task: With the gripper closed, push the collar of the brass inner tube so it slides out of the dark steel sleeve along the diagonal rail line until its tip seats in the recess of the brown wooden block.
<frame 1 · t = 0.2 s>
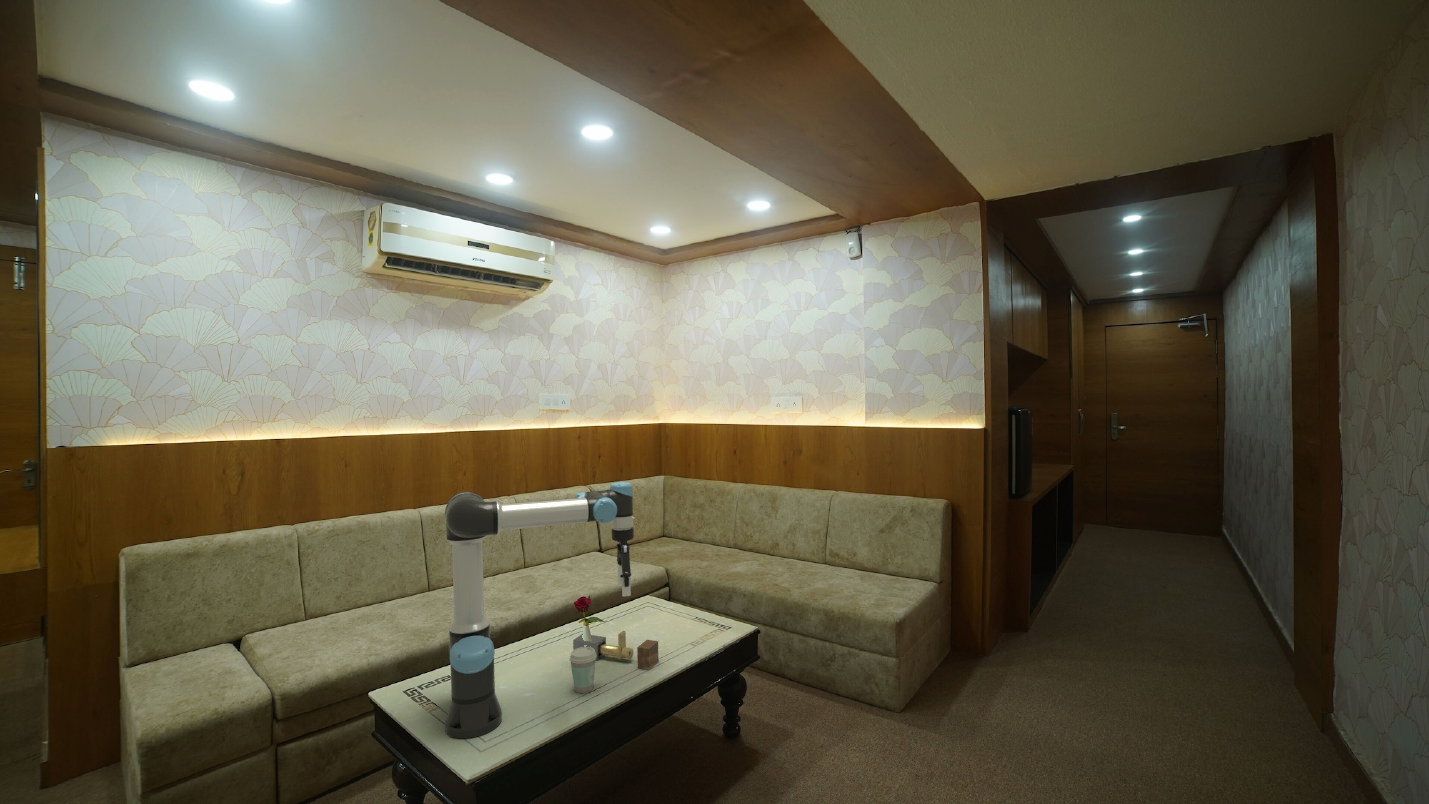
hand: (624, 589, 205), 27 cm above the table, fingers open, 13 cm apart
brown wooden block: (648, 664, 209), on the table
tube: (602, 642, 215), point 6 cm above the table, slide at 0.0 cm
sleeve: (590, 655, 217), on the table
coffee cup: (584, 689, 193), on the table
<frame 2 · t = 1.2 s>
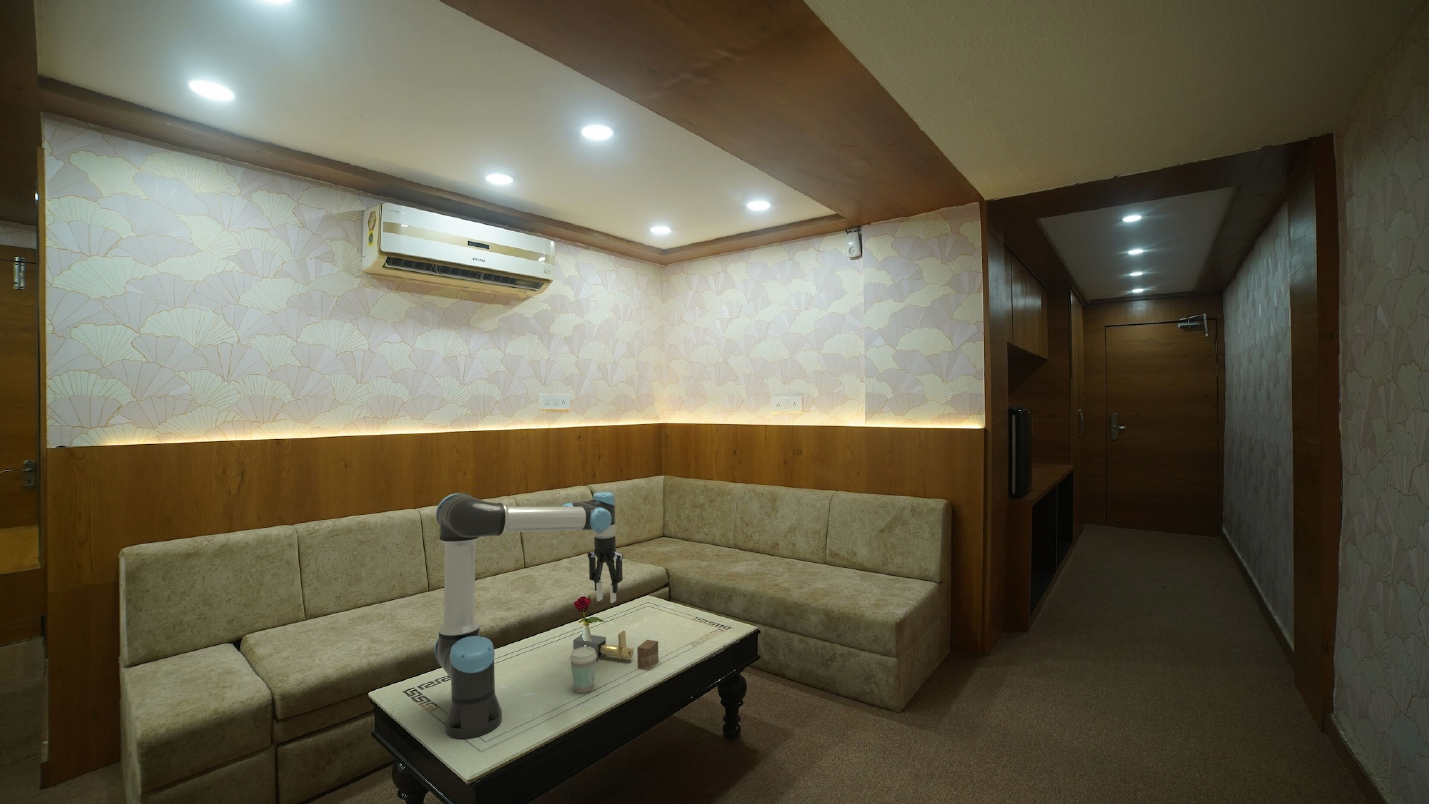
hand: (606, 600, 214), 21 cm above the table, fingers open, 5 cm apart
nothing on the table moved.
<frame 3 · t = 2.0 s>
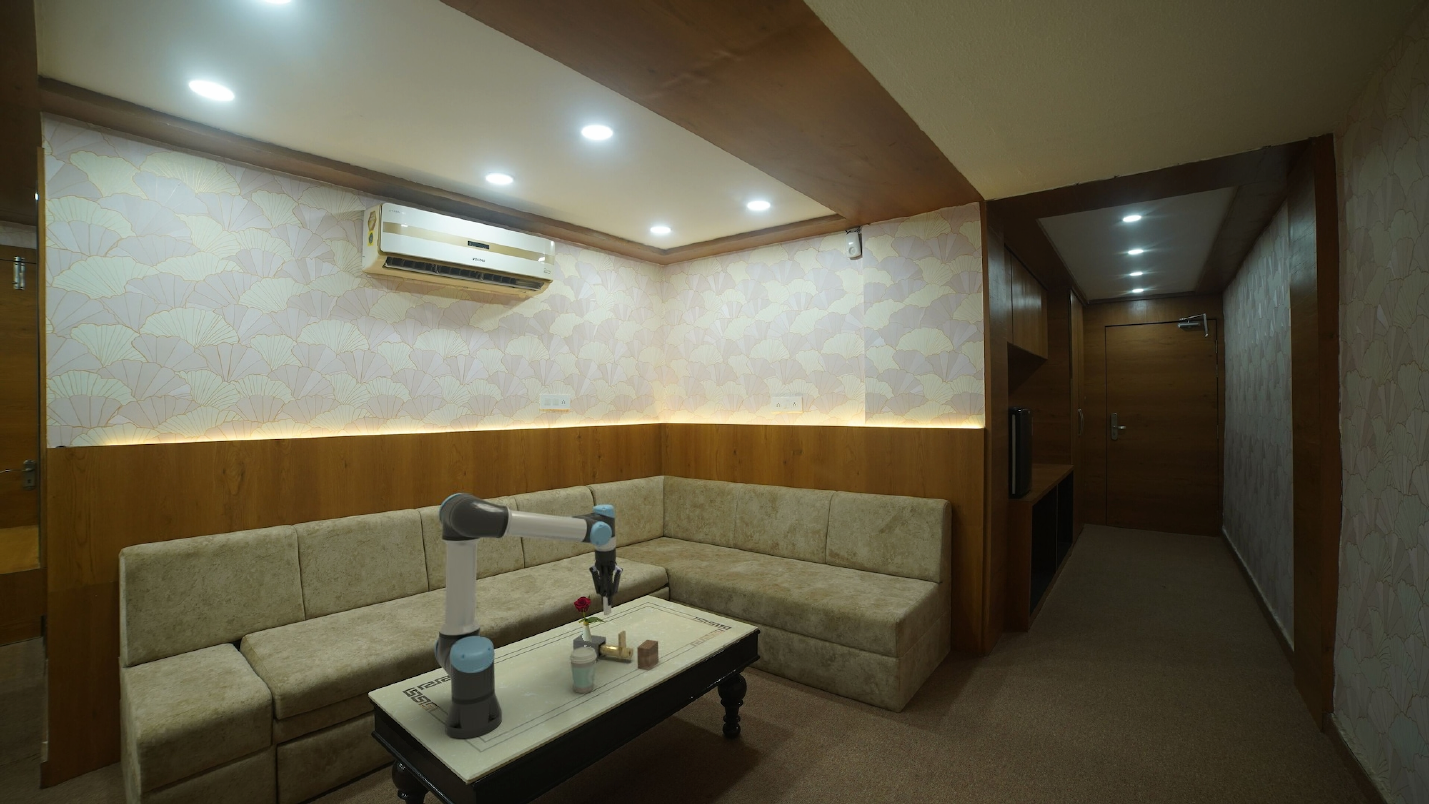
hand: (607, 613, 215), 16 cm above the table, fingers closed
nothing on the table moved.
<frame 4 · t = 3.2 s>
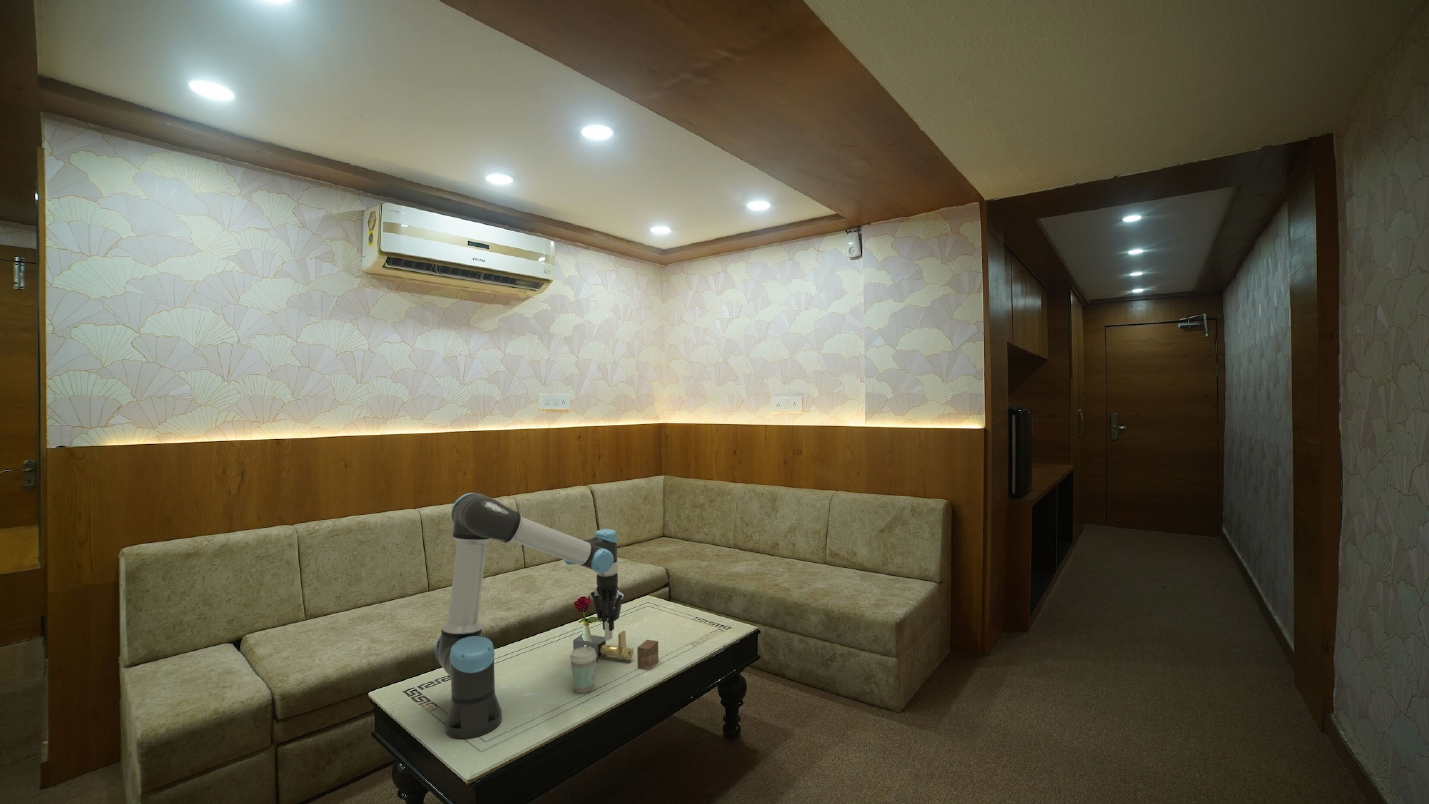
hand: (608, 639, 214), 7 cm above the table, fingers closed
nothing on the table moved.
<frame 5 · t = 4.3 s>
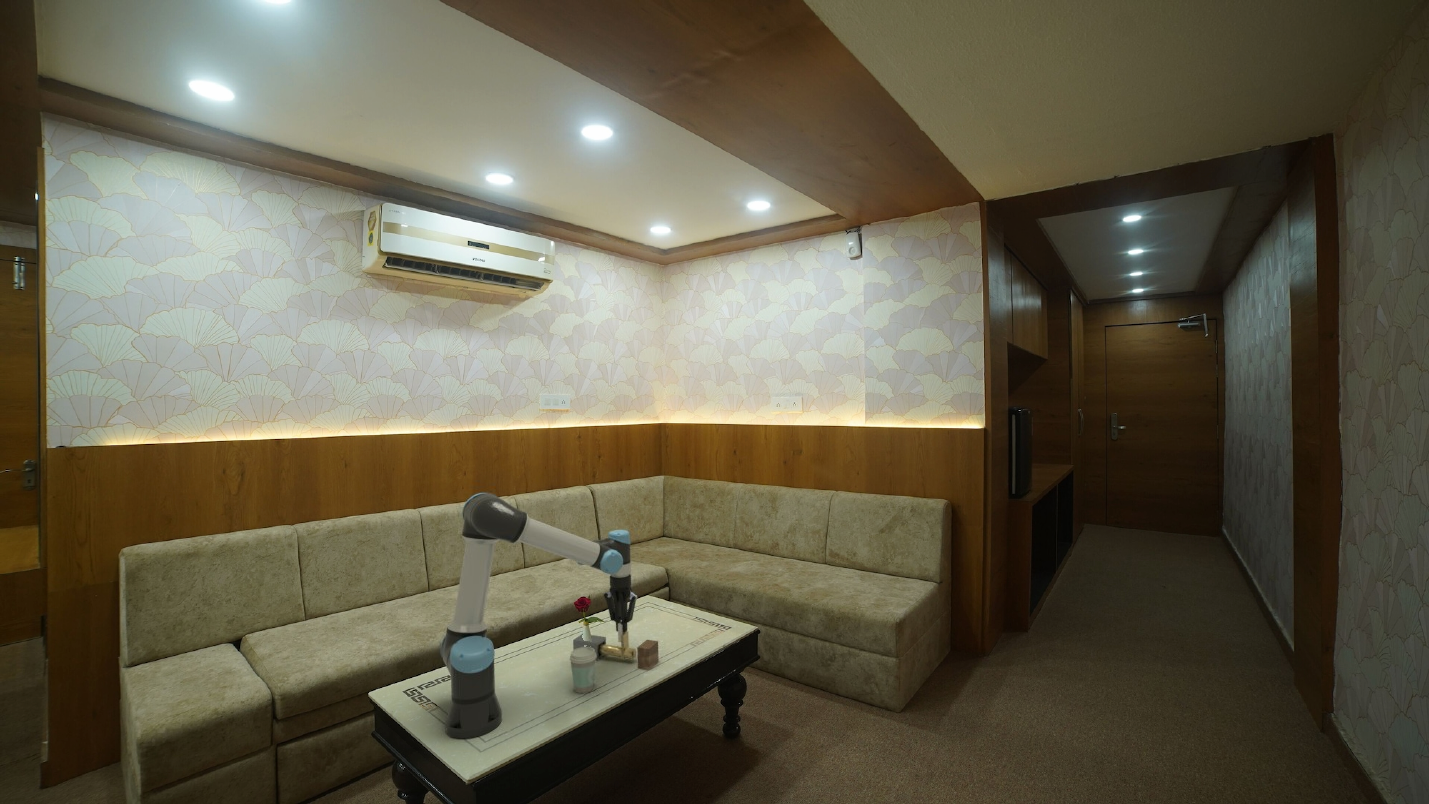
hand: (622, 640, 212), 7 cm above the table, fingers closed
tube: (605, 642, 215), point 6 cm above the table, slide at 1.2 cm, touching gripper
everything else where it was.
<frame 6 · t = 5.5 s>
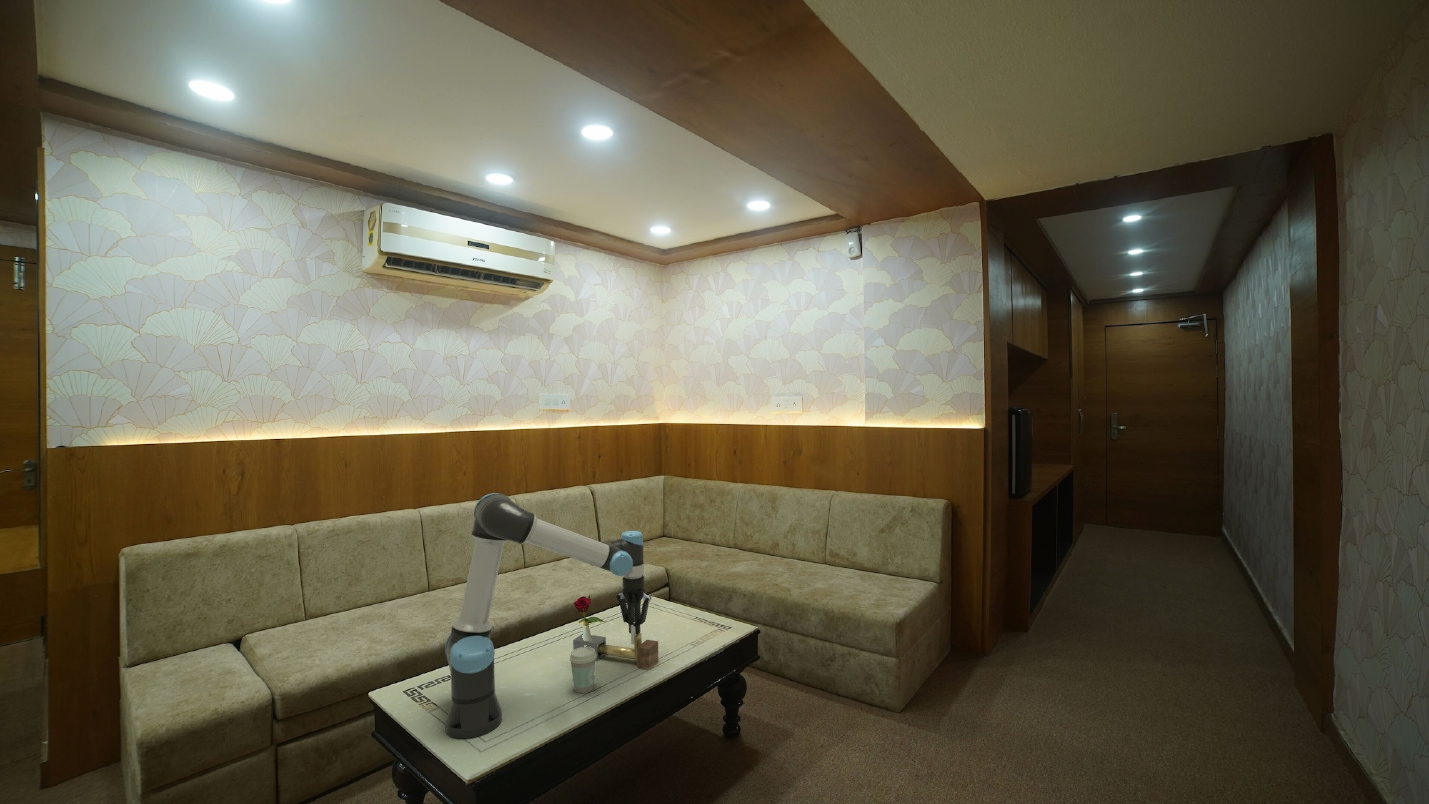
hand: (634, 642, 211), 7 cm above the table, fingers closed
tube: (618, 644, 213), point 6 cm above the table, slide at 6.4 cm, touching gripper
everything else where it was.
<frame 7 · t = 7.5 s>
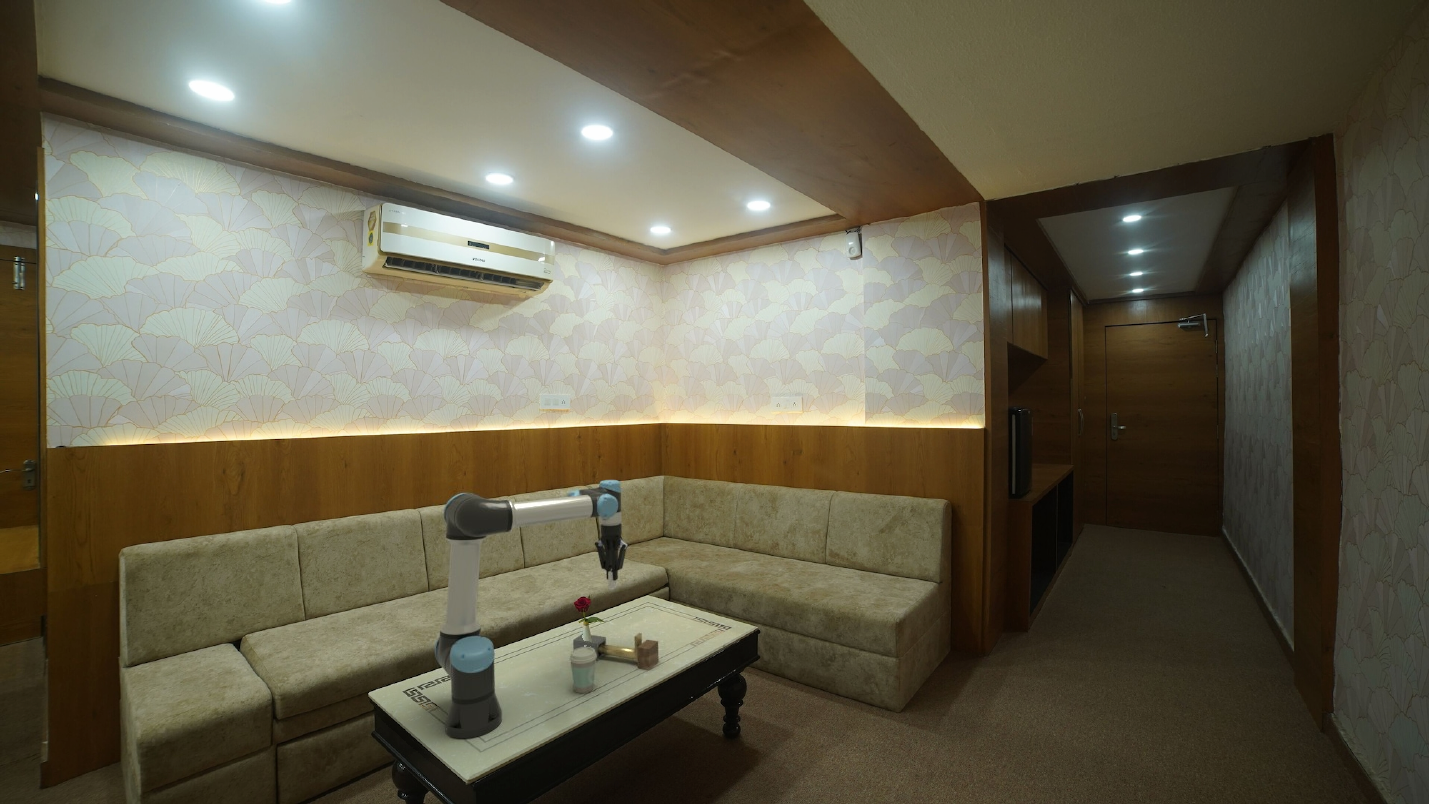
hand: (612, 588, 216), 25 cm above the table, fingers closed
tube: (618, 644, 213), point 6 cm above the table, slide at 6.5 cm
everything else where it was.
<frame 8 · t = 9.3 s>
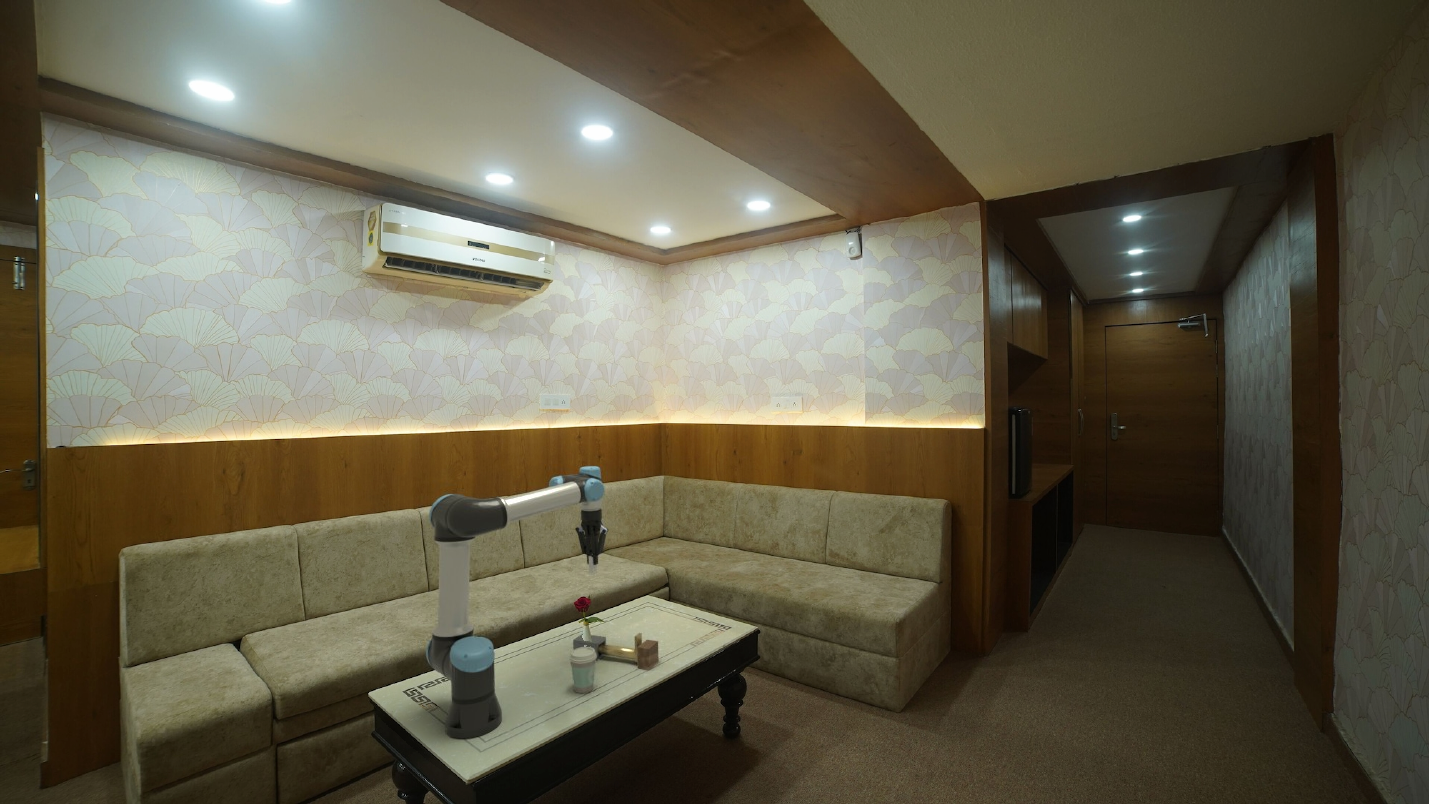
hand: (592, 573, 219), 29 cm above the table, fingers closed
nothing on the table moved.
at the end: tube slide at 6.5 cm; the gripper is holding nothing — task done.
